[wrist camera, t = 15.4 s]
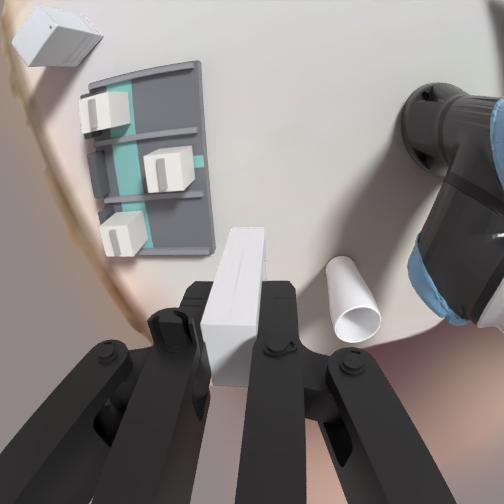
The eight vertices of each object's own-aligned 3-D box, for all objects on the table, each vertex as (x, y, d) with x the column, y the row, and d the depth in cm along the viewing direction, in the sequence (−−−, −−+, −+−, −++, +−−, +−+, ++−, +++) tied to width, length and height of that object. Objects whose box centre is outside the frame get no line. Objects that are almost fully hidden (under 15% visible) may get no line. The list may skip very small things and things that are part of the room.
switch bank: (200, 62, 37) (192, 57, 33) (215, 247, 51) (210, 262, 47) (95, 83, 39) (78, 83, 34) (121, 248, 52) (109, 262, 48)
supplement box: (84, 14, 32) (38, 1, 21) (105, 36, 35) (58, 25, 24) (57, 45, 35) (9, 42, 24) (76, 68, 37) (27, 68, 26)
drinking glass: (314, 277, 52) (324, 337, 39) (331, 245, 49) (349, 299, 36) (347, 289, 53) (365, 348, 40) (365, 258, 50) (391, 313, 37)
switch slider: (142, 210, 46) (124, 227, 40) (148, 239, 48) (131, 259, 42) (116, 212, 46) (96, 228, 40) (122, 239, 49) (104, 258, 43)
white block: (127, 91, 37) (104, 91, 31) (130, 123, 40) (108, 128, 34) (100, 98, 38) (75, 100, 32) (103, 128, 40) (78, 134, 34)
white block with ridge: (191, 145, 41) (177, 153, 35) (195, 179, 43) (181, 192, 37) (159, 148, 41) (140, 157, 35) (163, 181, 44) (146, 194, 38)
